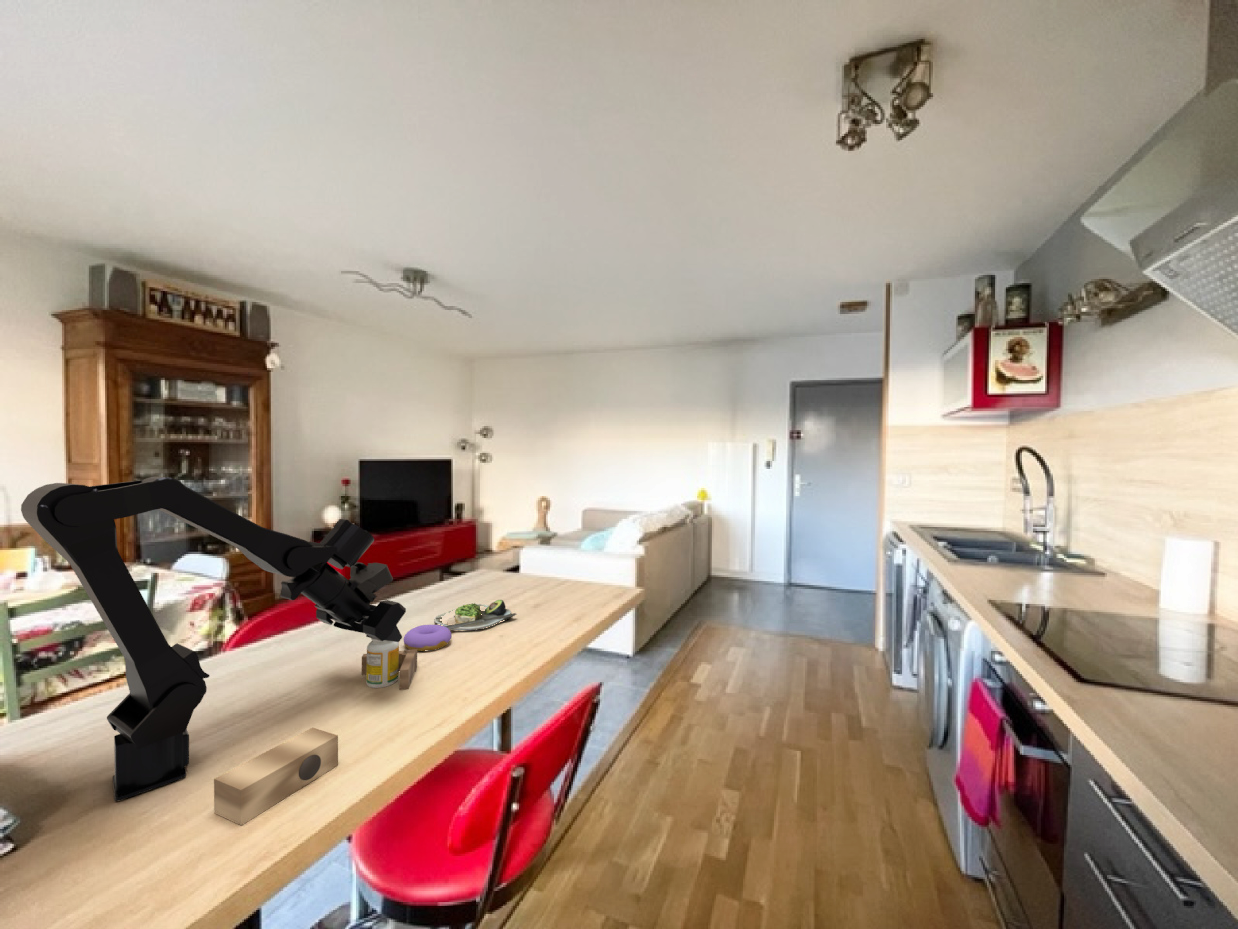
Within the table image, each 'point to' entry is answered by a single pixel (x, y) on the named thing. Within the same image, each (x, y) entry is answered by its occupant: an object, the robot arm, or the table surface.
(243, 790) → the beam
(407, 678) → the v block
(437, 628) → the donut
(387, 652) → the supplement bottle
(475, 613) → the salad plate
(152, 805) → the table surface
